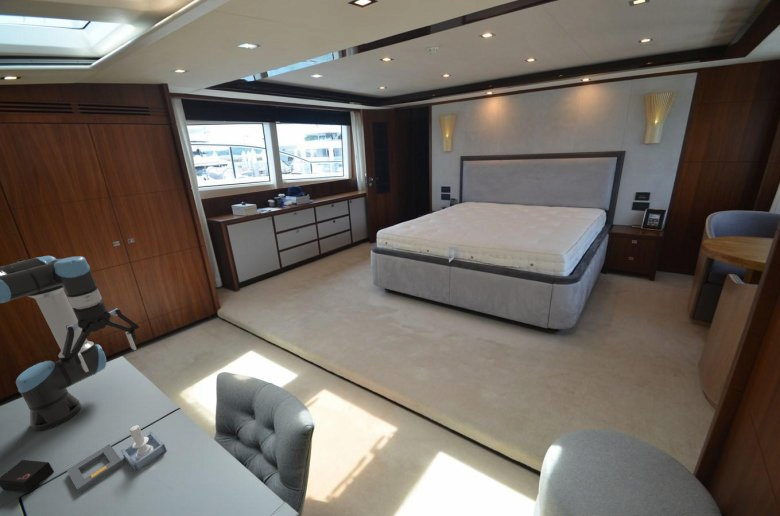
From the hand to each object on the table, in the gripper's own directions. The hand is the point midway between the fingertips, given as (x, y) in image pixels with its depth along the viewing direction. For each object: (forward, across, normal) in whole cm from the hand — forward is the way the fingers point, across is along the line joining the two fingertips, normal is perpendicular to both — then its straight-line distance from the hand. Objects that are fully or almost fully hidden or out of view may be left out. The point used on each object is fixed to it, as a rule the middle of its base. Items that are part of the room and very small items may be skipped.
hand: (111, 359), depth 115 cm
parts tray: (+35, -3, -10) cm, 36 cm away
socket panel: (+35, -15, -2) cm, 38 cm away
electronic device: (+35, -29, +13) cm, 48 cm away
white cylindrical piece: (+34, -3, -10) cm, 36 cm away
